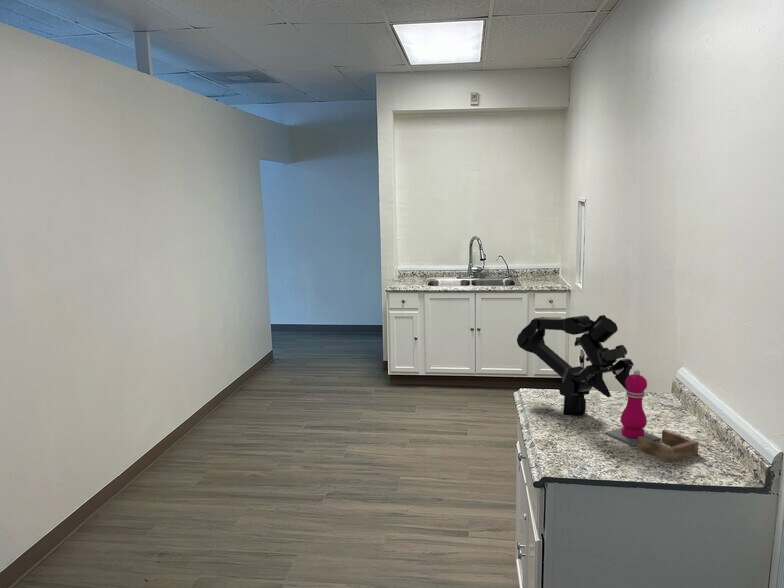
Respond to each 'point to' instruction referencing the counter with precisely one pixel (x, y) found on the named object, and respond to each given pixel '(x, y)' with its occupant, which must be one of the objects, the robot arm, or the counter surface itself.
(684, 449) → the walnut cradle
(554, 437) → the counter surface
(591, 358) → the robot arm
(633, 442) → the rubber mat
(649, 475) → the counter surface
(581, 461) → the counter surface
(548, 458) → the counter surface
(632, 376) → the pepper mill
